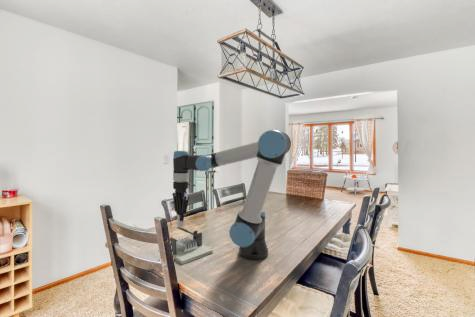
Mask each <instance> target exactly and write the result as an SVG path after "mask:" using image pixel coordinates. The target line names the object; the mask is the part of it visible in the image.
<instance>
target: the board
mask: <svg viewBox="0 0 475 317" xmlns="http://www.w3.org/2000/svg"><path fill="white" fill-rule="evenodd" d="M189 238H190V239H192V240H193V238H191V237H189ZM176 245H177V241H176ZM213 253H214V250H213V249H212V248H210V247H208V246H206V245H204V244H202V245H201V246H199V247H198V249H196V250H193V251H190V252H187V253H183V252H181V251H180V250H178V249H176V255H174V254H173V257H174V258H173V259H174V260H176V262H178V263H180V265H185V264H186V263H187V264H188V263H190V262H192V261H195V260H197V259H199V258H200V259H201V258H202V257H205V256H208V255H210V254H211V255H212V254H213Z"/></svg>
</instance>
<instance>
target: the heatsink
mask: <svg viewBox="0 0 475 317" xmlns="http://www.w3.org/2000/svg"><path fill="white" fill-rule="evenodd" d="M190 238H191V237H188V236H186V237H183V238H181V239H180V238H179V239H176V240H177V241H176V242H177V245H176V249H178V250H180V251H181V252H183V253H187V252H190V251H193V250H196V249H198V246H197V242H196V241H194V240H192V239H193V238H191V239H190Z"/></svg>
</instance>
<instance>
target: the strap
mask: <svg viewBox="0 0 475 317" xmlns="http://www.w3.org/2000/svg"><path fill="white" fill-rule="evenodd" d="M176 228H177V229H178V230H181V231H183V232H185V233H188V234H190V235H192V236H193V235H194V236H195V237H197V238H198V233H197V234H194V233H193V231H192V232H191V231H189V230H188V229H186V228H184V227H183V226H182V227H176Z"/></svg>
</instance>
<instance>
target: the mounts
mask: <svg viewBox="0 0 475 317" xmlns="http://www.w3.org/2000/svg"><path fill="white" fill-rule="evenodd" d="M192 233H194V234H198V238H197V237H195V236H194V235H192V239H193V240H194V241H196V242H197V246H198V247H199V246H201V245H203V232H199V233H198V230H193V231H192ZM177 240H178V239H175V237H173V236H172V237H169V242H170V241H171V246H172V252H173V254H174V255H176V242H177Z"/></svg>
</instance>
